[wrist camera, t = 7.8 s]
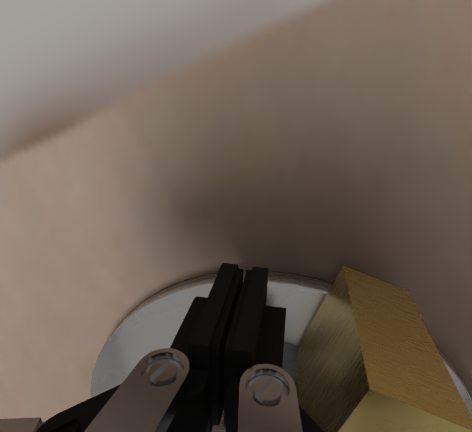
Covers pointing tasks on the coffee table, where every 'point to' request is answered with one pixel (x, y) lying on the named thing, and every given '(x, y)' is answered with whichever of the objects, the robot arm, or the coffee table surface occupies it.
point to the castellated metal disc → (372, 364)
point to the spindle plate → (176, 307)
